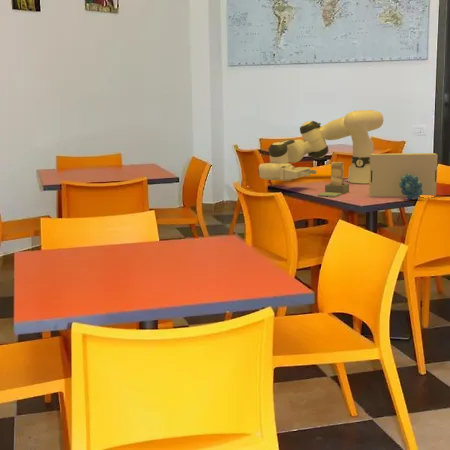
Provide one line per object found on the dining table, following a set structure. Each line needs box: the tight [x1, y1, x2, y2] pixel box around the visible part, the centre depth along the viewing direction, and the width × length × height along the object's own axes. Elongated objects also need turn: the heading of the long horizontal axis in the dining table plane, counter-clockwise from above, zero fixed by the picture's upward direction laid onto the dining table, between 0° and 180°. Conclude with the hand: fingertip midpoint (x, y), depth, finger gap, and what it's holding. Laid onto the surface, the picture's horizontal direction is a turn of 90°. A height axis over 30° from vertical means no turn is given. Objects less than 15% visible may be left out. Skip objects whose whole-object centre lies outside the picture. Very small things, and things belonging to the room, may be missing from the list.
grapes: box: [399, 173, 423, 201], centre depth 308 cm, size 12×7×12 cm, turn 48°
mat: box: [317, 191, 343, 198], centre depth 326 cm, size 9×9×1 cm
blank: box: [330, 161, 345, 186], centre depth 334 cm, size 4×5×15 cm
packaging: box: [368, 152, 439, 198], centre depth 319 cm, size 30×6×20 cm, turn 84°
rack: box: [324, 182, 350, 195], centre depth 335 cm, size 8×10×4 cm
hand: (312, 173), depth 340 cm, fingers open, 8 cm apart
